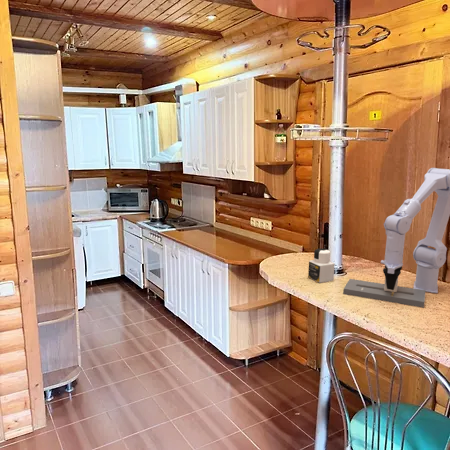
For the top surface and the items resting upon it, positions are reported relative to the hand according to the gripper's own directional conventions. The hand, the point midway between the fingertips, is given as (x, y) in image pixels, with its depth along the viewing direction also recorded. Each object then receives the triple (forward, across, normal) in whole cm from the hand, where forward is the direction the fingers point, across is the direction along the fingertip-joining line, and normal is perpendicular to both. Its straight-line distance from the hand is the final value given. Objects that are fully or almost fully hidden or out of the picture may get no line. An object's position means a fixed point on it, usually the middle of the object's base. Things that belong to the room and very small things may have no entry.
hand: (390, 287), depth 145 cm
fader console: (+3, 0, -2) cm, 4 cm away
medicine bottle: (+3, -6, -26) cm, 27 cm away
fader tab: (+1, 0, 0) cm, 1 cm away
